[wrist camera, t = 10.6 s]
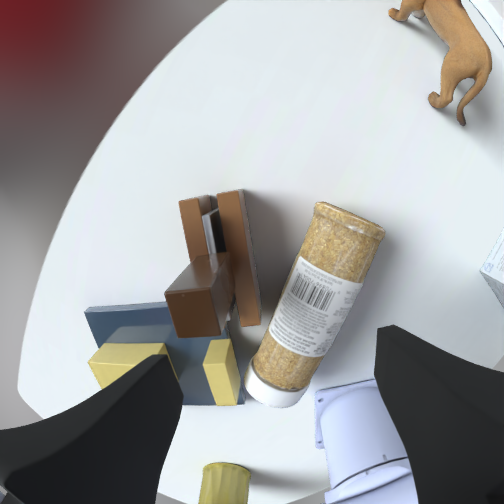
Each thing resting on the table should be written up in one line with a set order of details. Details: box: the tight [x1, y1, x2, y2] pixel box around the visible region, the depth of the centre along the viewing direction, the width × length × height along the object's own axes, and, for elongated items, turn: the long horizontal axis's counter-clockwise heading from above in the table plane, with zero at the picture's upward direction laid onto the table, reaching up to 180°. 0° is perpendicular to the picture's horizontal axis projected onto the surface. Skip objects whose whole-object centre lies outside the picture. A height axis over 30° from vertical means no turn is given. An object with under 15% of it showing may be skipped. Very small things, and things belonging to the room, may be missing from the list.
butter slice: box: [203, 339, 241, 406], centre depth 18 cm, size 4×2×3 cm, turn 9°
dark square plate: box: [84, 302, 245, 405], centre depth 20 cm, size 10×12×1 cm
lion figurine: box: [389, 0, 492, 126], centre depth 9 cm, size 15×5×9 cm, turn 24°
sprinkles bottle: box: [244, 202, 385, 408], centre depth 17 cm, size 5×5×14 cm
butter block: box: [88, 343, 179, 389], centre depth 19 cm, size 4×6×3 cm, turn 99°
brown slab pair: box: [179, 189, 262, 328], centre depth 17 cm, size 8×3×3 cm, turn 9°
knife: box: [164, 208, 236, 339], centre depth 14 cm, size 6×2×9 cm, turn 9°
